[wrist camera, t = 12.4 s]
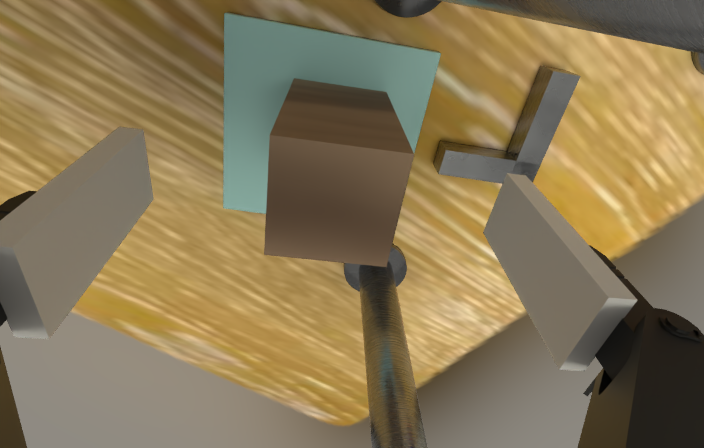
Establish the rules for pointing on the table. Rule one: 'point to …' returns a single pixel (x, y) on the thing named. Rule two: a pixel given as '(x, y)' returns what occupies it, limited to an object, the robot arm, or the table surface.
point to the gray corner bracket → (515, 135)
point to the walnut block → (335, 175)
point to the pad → (308, 64)
